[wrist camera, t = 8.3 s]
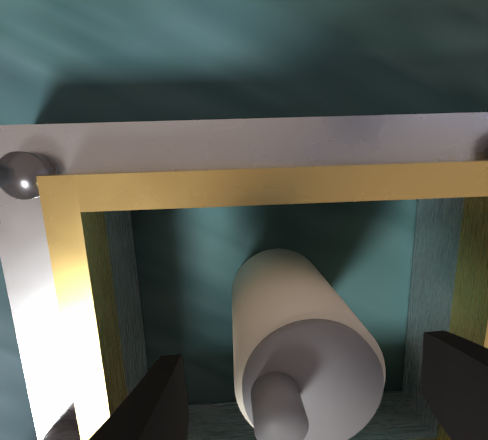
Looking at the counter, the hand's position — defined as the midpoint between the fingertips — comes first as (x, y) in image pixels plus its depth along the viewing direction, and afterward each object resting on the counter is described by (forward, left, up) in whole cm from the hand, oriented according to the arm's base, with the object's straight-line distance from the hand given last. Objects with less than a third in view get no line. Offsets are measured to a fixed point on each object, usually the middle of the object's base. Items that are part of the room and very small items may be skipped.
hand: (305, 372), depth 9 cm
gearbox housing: (0, 0, -5) cm, 5 cm away
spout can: (0, 0, -5) cm, 5 cm away
